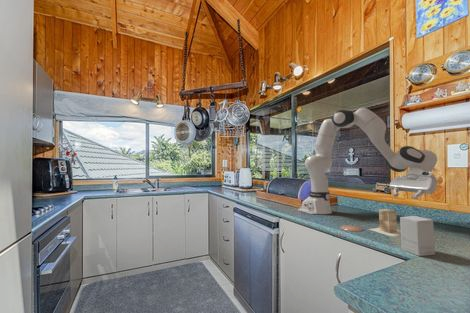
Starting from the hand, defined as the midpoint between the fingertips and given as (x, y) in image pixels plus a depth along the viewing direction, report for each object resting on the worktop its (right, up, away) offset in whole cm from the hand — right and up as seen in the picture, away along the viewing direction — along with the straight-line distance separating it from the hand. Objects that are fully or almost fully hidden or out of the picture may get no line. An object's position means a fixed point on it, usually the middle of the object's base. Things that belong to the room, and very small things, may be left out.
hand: (404, 196), depth 116 cm
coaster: (-26, -17, +1) cm, 31 cm away
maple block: (-11, -16, -5) cm, 20 cm away
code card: (-11, -16, -5) cm, 20 cm away
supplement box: (-17, -16, -29) cm, 37 cm away
